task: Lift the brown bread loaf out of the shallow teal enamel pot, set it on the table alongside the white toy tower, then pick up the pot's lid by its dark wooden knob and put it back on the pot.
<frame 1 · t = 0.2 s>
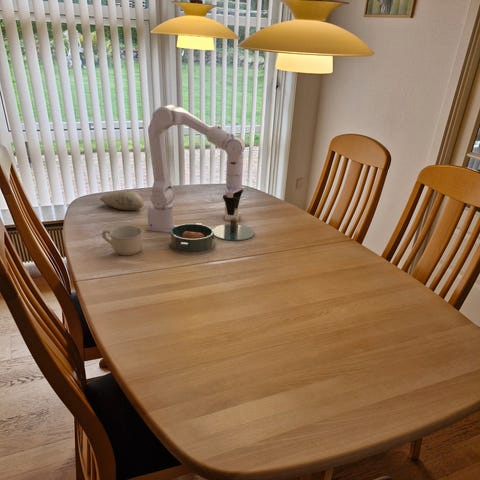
hand: (232, 211, 162), 10 cm above the table, tool pointing down, fingers open, 7 cm apart
teacup: (124, 252, 152), on the table
pot: (192, 245, 159), on the table
bread: (193, 243, 160), resting on pot
white toy tower: (231, 219, 185), on the table
rock: (124, 208, 190), on the table
lid: (233, 232, 170), point 1 cm above the table
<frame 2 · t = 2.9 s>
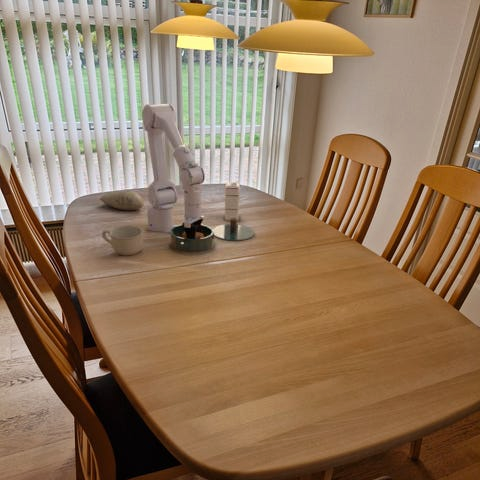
hand: (193, 239, 159), 2 cm above the table, tool pointing down, fingers closed on bread, 4 cm apart
bread: (193, 243, 160), resting on pot, touching gripper
everything else where it was.
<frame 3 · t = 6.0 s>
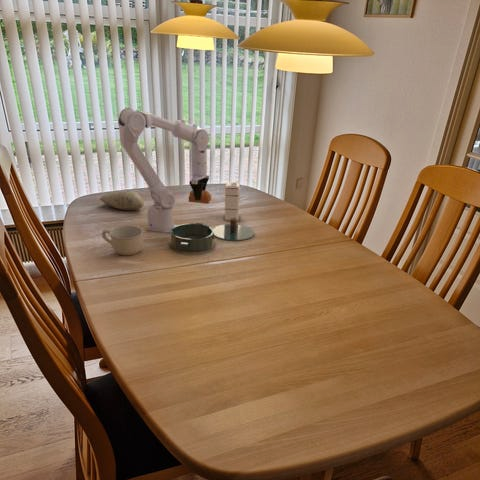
hand: (199, 197, 173), 10 cm above the table, tool pointing down, fingers closed on bread, 4 cm apart
bread: (200, 201, 174), point 9 cm above the table, touching gripper
everything else where it was.
when the fingers open (1 cm above the table, at t = 9.3 s): bread stays where it is, on the table.
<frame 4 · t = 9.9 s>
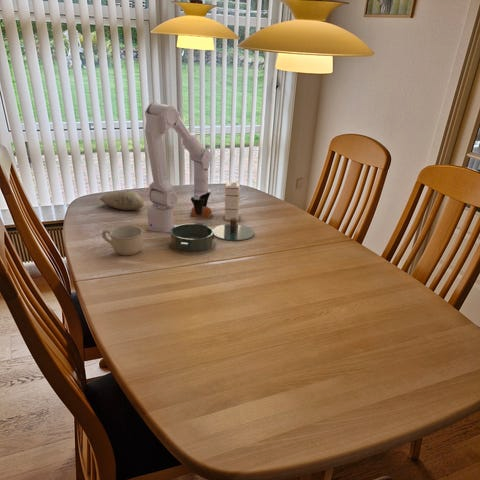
hand: (201, 211, 185), 2 cm above the table, tool pointing down, fingers open, 7 cm apart
bread: (201, 216, 186), on the table
everything else where it was.
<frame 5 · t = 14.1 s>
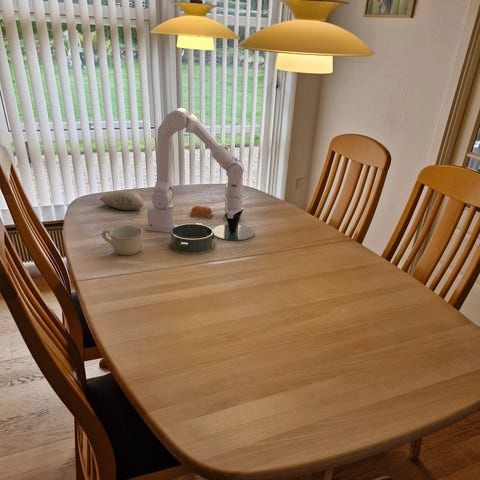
hand: (233, 230, 169), 2 cm above the table, tool pointing down, fingers closed on lid, 2 cm apart
lid: (233, 232, 170), point 1 cm above the table, touching gripper
everything else where it was.
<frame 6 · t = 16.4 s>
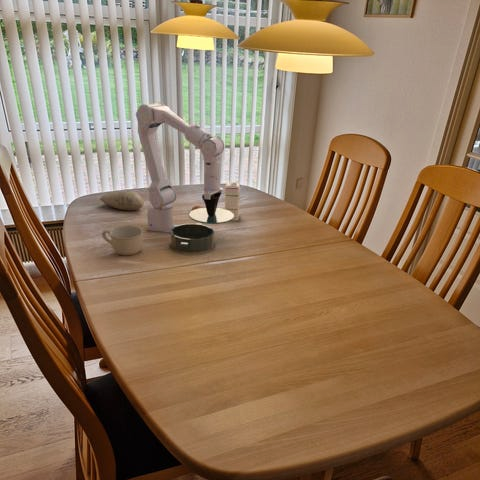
hand: (211, 213, 159), 10 cm above the table, tool pointing down, fingers closed on lid, 2 cm apart
lid: (211, 216, 159), point 9 cm above the table, touching gripper
everything else where it was.
when the fingers open (6 cm above the table, at t = 18.6 s): lid stays where it is, resting on pot.
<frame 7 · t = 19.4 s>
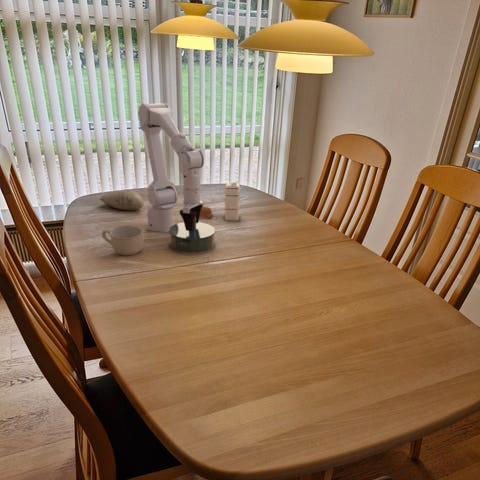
hand: (192, 226, 155), 7 cm above the table, tool pointing down, fingers open, 7 cm apart
lid: (192, 231, 156), point 5 cm above the table, touching pot
everything else where it was.
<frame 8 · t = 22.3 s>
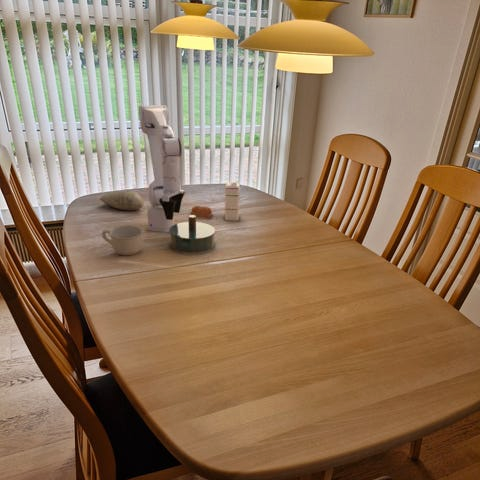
hand: (172, 215, 154), 10 cm above the table, tool pointing down, fingers open, 7 cm apart
nothing on the table moved.
at the end: bread inside the target area on the table beside the white toy tower (0.4 cm from its centre), on the table; lid 0.0 cm off-centre on the pot, point 5.5 cm above the pot's base; lid tilted 0° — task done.
